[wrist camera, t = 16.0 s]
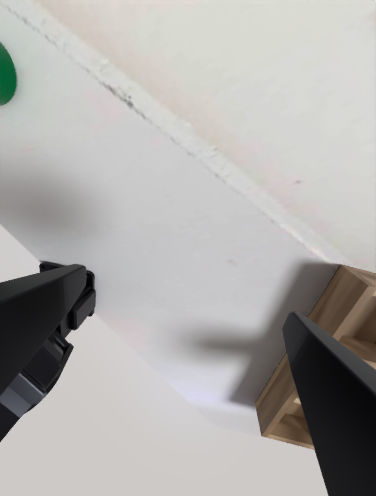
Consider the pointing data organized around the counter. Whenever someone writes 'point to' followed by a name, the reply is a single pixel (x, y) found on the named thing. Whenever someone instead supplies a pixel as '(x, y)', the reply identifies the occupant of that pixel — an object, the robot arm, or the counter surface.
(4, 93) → the soda can
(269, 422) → the slot crate
